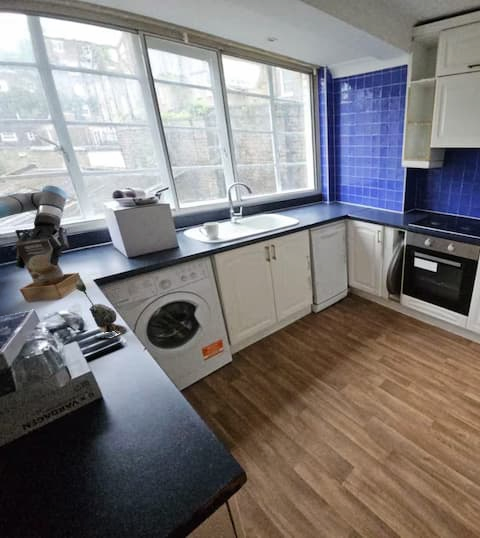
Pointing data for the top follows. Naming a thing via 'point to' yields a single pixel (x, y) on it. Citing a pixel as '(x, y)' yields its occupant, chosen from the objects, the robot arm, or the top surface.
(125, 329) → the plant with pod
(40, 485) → the top surface
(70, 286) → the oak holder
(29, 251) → the coffee box
